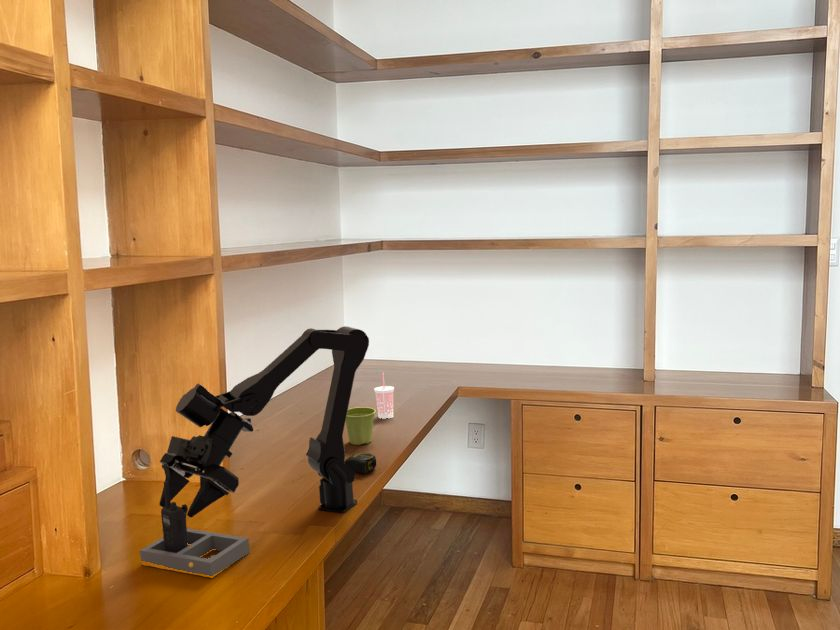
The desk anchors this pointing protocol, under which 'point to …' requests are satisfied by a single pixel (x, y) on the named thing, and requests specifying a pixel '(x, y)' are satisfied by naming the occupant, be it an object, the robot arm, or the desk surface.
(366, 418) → the plant pot
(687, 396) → the desk surface
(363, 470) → the tape measure
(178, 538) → the two-way radio
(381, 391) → the beverage cup
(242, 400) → the robot arm
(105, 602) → the desk surface
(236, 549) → the charging station
